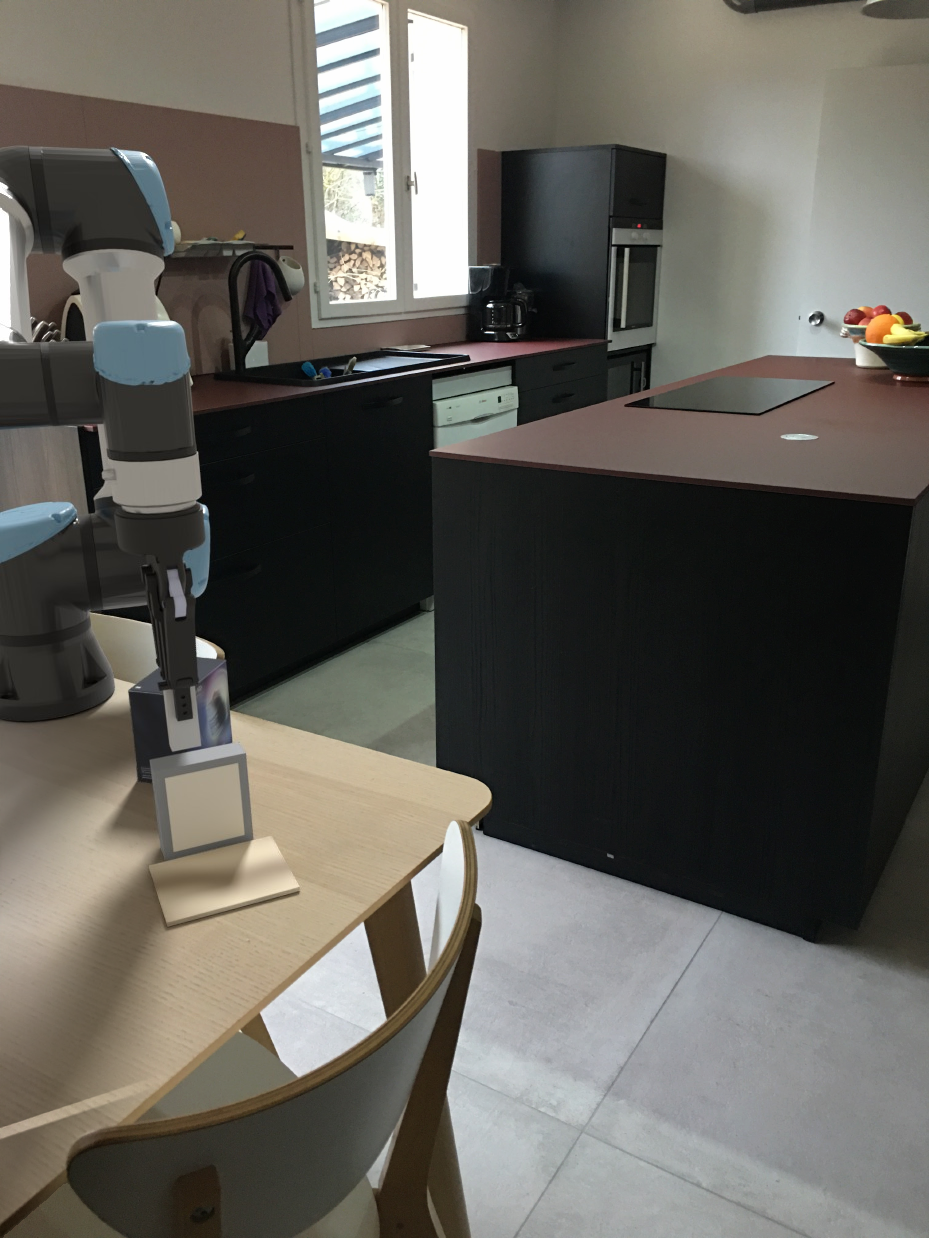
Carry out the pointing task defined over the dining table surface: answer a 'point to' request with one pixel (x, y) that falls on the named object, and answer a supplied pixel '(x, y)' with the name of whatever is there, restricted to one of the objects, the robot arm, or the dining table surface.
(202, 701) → the small box
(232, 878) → the cork mat
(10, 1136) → the dining table surface
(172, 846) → the grey square slab
